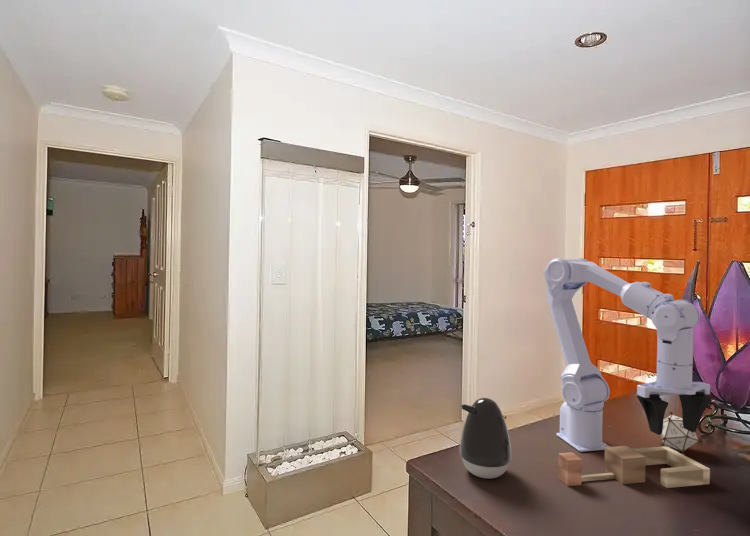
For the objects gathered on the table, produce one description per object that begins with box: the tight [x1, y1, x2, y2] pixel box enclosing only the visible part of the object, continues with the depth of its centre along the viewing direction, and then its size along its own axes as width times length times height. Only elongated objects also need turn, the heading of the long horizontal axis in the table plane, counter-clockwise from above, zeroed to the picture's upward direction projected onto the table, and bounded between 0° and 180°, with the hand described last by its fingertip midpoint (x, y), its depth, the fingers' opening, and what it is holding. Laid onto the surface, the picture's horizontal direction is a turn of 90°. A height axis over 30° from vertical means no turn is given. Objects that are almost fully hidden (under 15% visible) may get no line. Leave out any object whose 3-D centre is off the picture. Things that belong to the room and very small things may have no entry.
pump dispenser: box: [459, 397, 512, 480], centre depth 87 cm, size 10×10×15 cm
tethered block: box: [557, 445, 646, 487], centre depth 84 cm, size 5×16×5 cm, turn 99°
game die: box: [659, 410, 705, 455], centre depth 98 cm, size 9×8×10 cm
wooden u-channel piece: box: [632, 445, 711, 489], centre depth 87 cm, size 10×10×3 cm
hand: (672, 431), depth 83 cm, fingers open, 7 cm apart
